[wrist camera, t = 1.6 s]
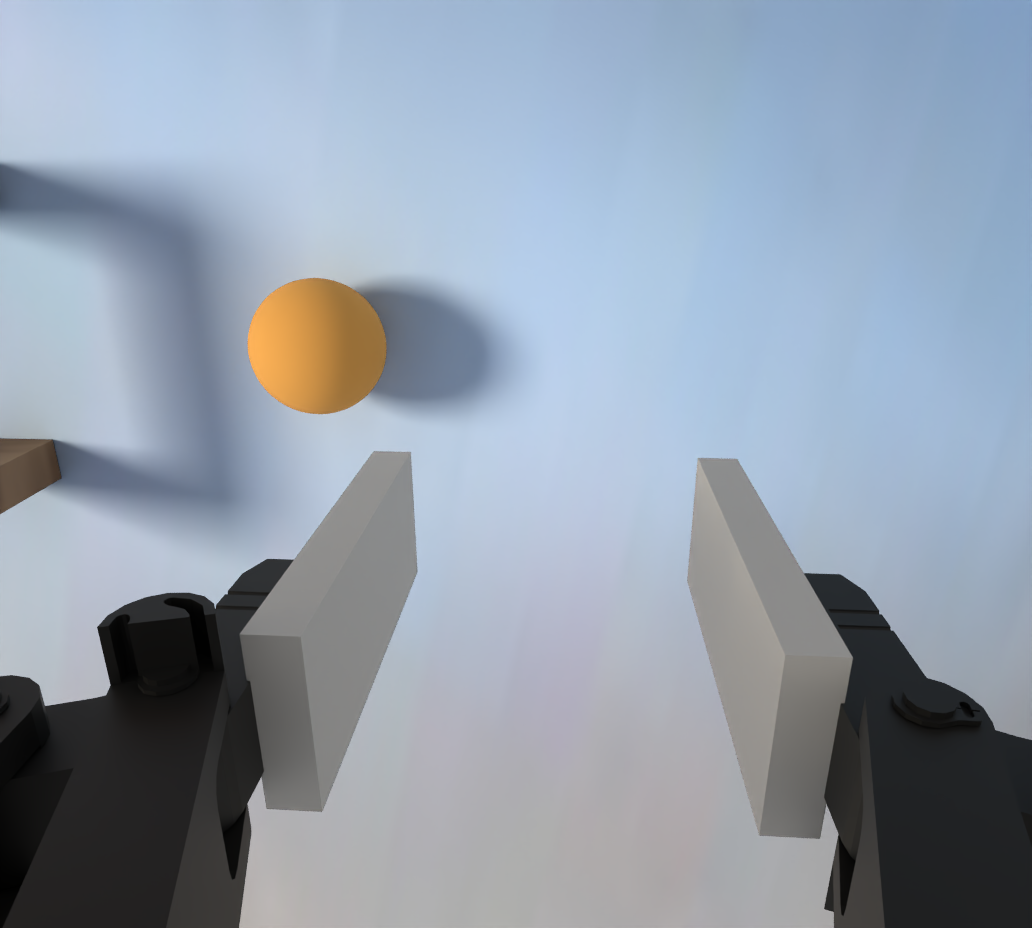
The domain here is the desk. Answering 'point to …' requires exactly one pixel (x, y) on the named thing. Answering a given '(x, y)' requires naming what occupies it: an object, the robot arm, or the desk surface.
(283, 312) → the ball
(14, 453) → the bridge
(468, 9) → the desk surface
